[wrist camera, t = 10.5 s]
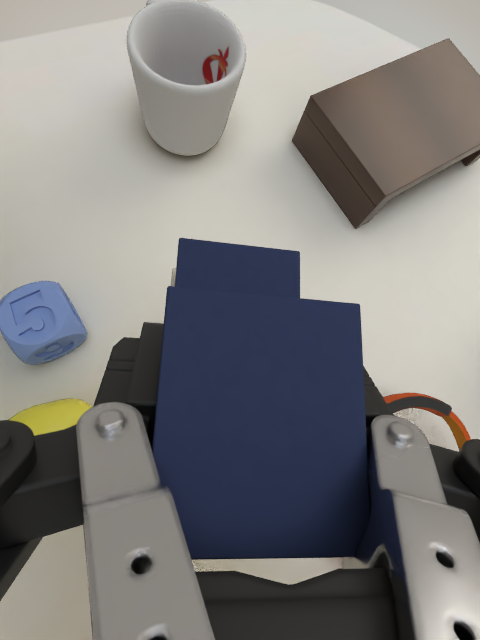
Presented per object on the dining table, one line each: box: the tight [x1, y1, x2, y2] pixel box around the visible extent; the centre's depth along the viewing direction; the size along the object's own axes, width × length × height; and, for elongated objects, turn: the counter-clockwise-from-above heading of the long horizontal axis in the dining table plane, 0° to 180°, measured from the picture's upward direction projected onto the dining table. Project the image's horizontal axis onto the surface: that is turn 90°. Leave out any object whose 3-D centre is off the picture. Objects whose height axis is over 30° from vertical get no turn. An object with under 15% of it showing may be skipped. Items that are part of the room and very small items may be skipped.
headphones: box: [383, 393, 471, 451], centre depth 26 cm, size 17×5×20 cm
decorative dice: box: [0, 281, 87, 365], centre depth 25 cm, size 4×4×4 cm
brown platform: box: [292, 39, 480, 229], centre depth 34 cm, size 16×10×5 cm, turn 123°
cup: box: [127, 0, 246, 156], centre depth 30 cm, size 11×8×8 cm
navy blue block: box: [152, 238, 370, 560], centre depth 13 cm, size 9×5×9 cm, turn 178°
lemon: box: [9, 399, 92, 436], centre depth 23 cm, size 4×8×4 cm, turn 123°
